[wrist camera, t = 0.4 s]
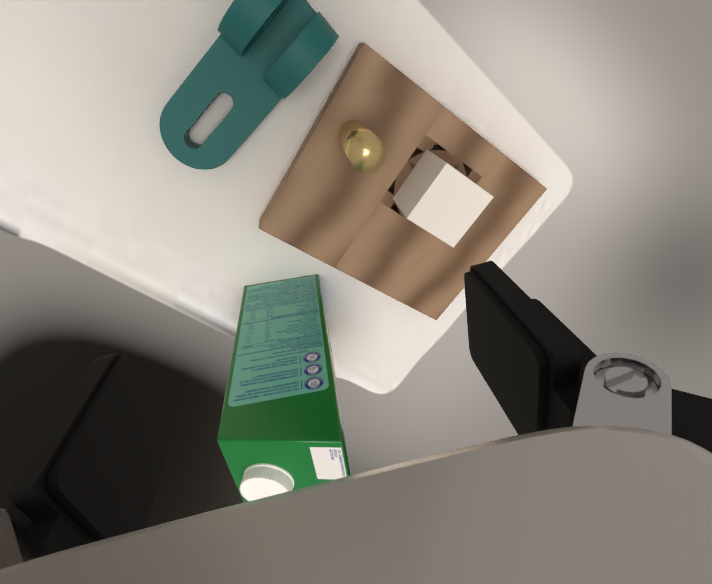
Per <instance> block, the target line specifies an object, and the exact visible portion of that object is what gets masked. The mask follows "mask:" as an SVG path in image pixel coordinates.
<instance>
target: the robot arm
mask: <svg viewBox="0 0 712 584" xmlns="http://www.w3.org/2000/svg"><path fill="white" fill-rule="evenodd" d="M464 283H465V297H466V310H467V323H468V337H469V349H470V353H471V356H472V359H473V361H474V363H475V364H476V366H477V368H478V369H479V371H480V373H481V374H482V376H483V378H484V379H485V381H486V382H487V384H488V386H489V387H490V389H491V390H492V392H493V394H494V396H495V397H496V399H497V400H498V402H499V404H500V405H501V407H502V409H503V410H504V412H505V414H506V415H507V417H508V418H509V420H510V422H511V423H512V425H513V426H514V428H515V430H516V431H517V433H518V435H517V436H512V437H508V438H503V439H499V440H495V441H490V442H486V443H482V444H477V445H473V446H469V447H464V448H460V449H456V450H452V451H447V452H443V453H439V454H435V455H431V456H427V457H423V458H419V459H415V460H412V461H407V462H403V463H399V464H395V465H391V466H387V467H383V468H380V469H376V470H371V471H367V472H363V473H359V474H355V475H351V476H347V477H343V478H339V479H335V480H331V481H327V482H323V483H319V484H315V485H311V486H308V487H304V488H300V489H296V490H292V491H288V492H284V493H280V494H276V495H272V496H268V497H264V498H261V499H257V500H253V501H249V502H245V503H241V504H237V505H233V506H230V507H226V508H222V509H218V510H214V511H210V512H206V513H202V514H199V515H195V516H191V517H187V518H183V519H180V520H176V521H172V522H168V523H164V524H160V525H156V526H153V527H149V528H145V525H146V521H147V518H148V515H149V512H150V509H151V506H152V502H153V500H154V496H155V493H156V490H157V487H158V484H159V481H160V478H161V474H162V471H163V468H164V465H165V462H166V459H167V456H168V452H169V449H170V446H171V443H172V439H173V436H174V427H173V424H172V422H171V420H170V419H169V417H168V416H167V414H166V412H165V411H164V409H163V408H162V406H161V405H160V403H159V401H158V400H157V398H156V397H155V395H154V394H153V392H152V390H151V389H150V387H149V385H148V384H147V382H146V381H145V379H144V378H143V376H142V375H141V373H140V371H139V370H138V368H137V366H136V365H135V363H134V362H133V360H132V359H131V358H130V357H125V356H124V355H122V354H120V353H116V354H113V355H108V356H105V357H100V358H97V359H95V360H94V361H93V362H92V364H91V366H90V367H89V369H88V370H87V371H86V373H85V374H84V376H83V377H82V379H81V380H80V382H79V383H78V385H77V386H76V388H75V389H74V391H73V392H72V394H71V395H70V397H69V398H68V400H67V401H66V403H65V404H64V406H63V407H62V409H61V410H60V412H59V413H58V415H57V416H56V418H55V419H54V421H53V422H52V424H51V425H50V427H49V428H48V430H47V431H46V433H45V434H44V436H43V437H42V438H41V440H40V441H39V443H38V444H37V446H36V448H35V449H34V451H33V452H32V453H31V455H30V456H29V458H28V459H27V461H26V462H25V464H24V465H23V467H22V469H21V470H20V471H19V473H18V474H17V476H16V477H15V479H14V480H13V482H12V483H11V485H10V486H9V488H8V489H7V491H6V492H5V494H4V496H6V497H7V498H8V499H9V500H10V501H11V502H12V503H11V504H10V506H9V508H8V509H7V511H6V510H5V509H0V584H712V399H710V398H706V397H702V396H698V395H694V394H690V393H686V392H682V391H678V390H674V389H672V386H671V382H670V379H669V377H668V375H667V374H666V373H665V372H664V371H663V369H661V368H660V367H658V366H657V365H656V364H654V363H653V362H650V361H649V360H646V359H644V358H642V357H638V356H634V355H631V354H624V353H608V354H603V355H599V356H596V355H595V354H594V353H593V352H592V351H591V350H590V349H589V348H588V347H587V346H586V345H585V344H584V343H583V342H582V341H581V340H580V339H579V338H578V337H576V335H574V334H573V333H572V332H571V331H570V330H569V329H568V328H567V327H566V326H565V325H564V324H563V323H562V322H561V321H560V320H559V319H558V318H557V317H556V316H555V315H554V314H552V313H551V312H550V311H549V310H548V309H547V308H546V307H545V306H544V305H543V304H542V303H541V302H540V301H538V300H537V299H530V297H529V296H527V295H526V294H525V292H524V291H522V290H521V289H520V288H519V287H518V286H517V285H516V284H515V283H514V282H513V281H512V280H511V279H510V278H509V277H508V276H507V275H506V274H505V273H504V272H503V271H502V270H501V269H500V268H499V267H498V266H497V265H496V264H495V263H494V262H493V261H488V262H484V263H480V264H476V265H472V266H471V267H470V272H466V273H465V274H464ZM144 528H145V529H144Z"/></svg>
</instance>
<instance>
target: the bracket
mask: <svg viewBox="0 0 712 584" xmlns="http://www.w3.org/2000/svg"><path fill="white" fill-rule="evenodd" d="M218 31H219V32H220V33H221V35H220V36H219V38H218V39H217V40H216V41H215V43H214V44H213V45H212V47H211V48H210V49H209V50H208V52H207V53H206V54H205V55H204V57H203V58H202V59H201V61H200V62H199V63H198V64H197V66H196V67H195V68H194V70H193V71H192V72H191V73H190V75H189V76H188V77H187V78H186V80H185V81H184V82H183V84H182V85H181V86H180V87H179V89H178V90H177V91H176V93H175V94H174V95H173V96H172V98H171V99H170V100H169V102H168V103H167V104H166V106H165V107H164V109H163V111H162V114H161V117H160V132H161V136H162V139H163V141H164V144H165V145H166V147H167V149H168V150H169V151H170V153H171V154H172V155H173V156H174V157H175V158H176V159H177V160H179V161H180V162H182V163H183V164H185V165H187V166H189V167H192V168H196V169H205V170H206V169H213V168H216V167H219V166H221V165H222V164H224V163H225V162H226V161H227V160H228V159H229V158H230V157H231V156H232V155H233V154H234V152H235V151H236V150H237V149H238V148H239V147H240V146H241V144H242V143H243V142H244V141H245V140H246V139H247V138H248V136H249V135H250V134H251V133H252V132H253V131H254V130H255V128H256V127H257V126H258V125H259V124H260V123H261V122H262V120H263V119H264V118H265V117H266V116H267V115H268V114H269V112H270V111H271V110H272V109H273V108H274V107H275V106H276V104H277V103H278V102H279V101H280V100H281V99H282V98H283V99H285V98H286V97H287V96H288V95H289V94H290V93H291V92H292V91H293V90H294V89H295V88H296V87H297V86H298V85H299V84H300V83H301V82H302V81H303V79H304V78H305V77H306V76H307V75H308V74H309V73H310V72H311V71H312V69H313V68H314V67H315V66H316V65H317V64H318V63H319V61H320V60H321V59H322V58H323V57H324V55H325V54H326V53H327V52H328V51H329V49H330V48H331V47H332V45H333V44H334V43H335V41H336V40H337V39H338V37H339V36H338V34H337V33H336V32H335V31H334V29H333V28H332V27H331V26H330V25H329V23H328V22H327V21H326V20H325V18H324V17H323V16H322V15H321V13H320V12H318V13H316V12H315V11H314V10H313V8H312V7H311V6H310V5H309V3H308V2H307V1H306V0H234V2H233V3H232V5H231V6H230V8H229V9H228V11H227V12H226V14H225V16H224V17H223V19H222V21H221V23H220V25H219V27H218ZM221 92H224V93H227V94H229V95H230V96H231V97H232V99H233V102H234V106H233V109H232V110H231V111H230V113H229V114H228V115H227V116H226V117H225V119H224V120H223V121H222V122H221V123H220V125H219V126H218V127H217V128H216V129H215V130H214V132H213V133H212V134H211V135H210V136H209V138H208V139H207V140H206V141H205V142H204V143H203V144H201V145H197V144H194V143H193V142H192V141H191V140H190V138H189V135H188V133H189V130H190V129H191V128H192V126H193V125H194V124H195V123H196V121H197V120H198V119H199V118H200V117H201V115H202V114H203V113H204V112H205V110H206V109H207V108H208V107H209V106H210V104H211V103H212V102H213V101H214V99H215V98H216V97H217V96H218V95H219V93H221Z"/></svg>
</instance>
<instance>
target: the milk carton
mask: <svg viewBox="0 0 712 584" xmlns="http://www.w3.org/2000/svg"><path fill="white" fill-rule="evenodd" d="M217 441H218V444H219V446H220V448H221V451H222V453H223V455H224V457H225V460H226V462H227V464H228V467H229V469H230V471H231V474H232V476H233V478H234V481H235V483H236V485H237V487H238V490H239V492H240V495H241V497H242V499H243V501H244V503H245V502H249V501H253V500H257V499H261V498H264V497H268V496H272V495H276V494H280V493H284V492H288V491H292V490H296V489H300V488H304V487H308V486H311V485H315V484H319V483H323V482H327V481H331V480H335V479H339V478H343V477H347V476H351V475H350V469H349V463H348V456H347V449H346V442H345V436H344V429H343V423H342V416H341V410H340V403H339V397H338V390H337V383H336V376H335V370H334V363H333V357H332V350H331V343H330V337H329V331H328V325H327V319H326V314H325V308H324V302H323V296H322V291H321V285H320V279H319V275H313V276H307V277H301V278H295V279H289V280H283V281H277V282H270V283H264V284H258V285H252V286H246V287H244V292H243V298H242V304H241V309H240V315H239V320H238V326H237V332H236V337H235V343H234V349H233V354H232V360H231V365H230V371H229V377H228V382H227V388H226V394H225V399H224V405H223V411H222V416H221V422H220V427H219V433H218V439H217Z"/></svg>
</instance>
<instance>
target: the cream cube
mask: <svg viewBox="0 0 712 584" xmlns="http://www.w3.org/2000/svg"><path fill="white" fill-rule="evenodd" d="M492 199H493V196H492V195H490V194H489V193H488V192H486V191H485V190H483V189H482V188H481V187H479V186H478V185H477V184H475V183H474V182H472V181H471V180H470V179H468V178H467V177H466V176H464V175H463V174H461V173H460V172H459V171H457V170H456V169H455V168H453V167H452V166H450V165H449V164H448V163H446V162H445V161H443V160H442V159H441V158H439V157H438V156H436V155H435V154H433V153H432V152H430V151H429V150H428V149H427V150H426V151H425V153H424V154H423V155H422V157H421V158H420V160H419V161H418V163H417V164H416V166H415V167H414V168H413V170H412V171H411V173H410V174H409V176H408V177H407V179H406V180H405V181H404V183H403V184H402V186H401V187H400V189H399V190H398V192H397V193H396V195H395V196H394V197H393V200H394V201H395V203H396V204H397V206H398V207H399V208H400V210H401V211H402V213H403V214H404V215H405V217H406V218H407V219H408V220H410V221H412V222H413V223H415V224H416V225H418V226H420V227H421V228H423V229H424V230H426V231H428V232H429V233H431V234H432V235H434V236H436V237H437V238H439V239H440V240H442V241H444V242H445V243H447V244H448V245H450V246H452V247H453V248H454V247H455V245H456V244H457V243H458V241H459V240H460V239H461V238H462V236H463V235H464V234H465V233H466V231H467V230H468V229H469V228H470V226H471V225H472V224H473V223H474V221H475V220H476V219H477V218H478V216H479V215H480V214H481V213H482V211H483V210H484V209H485V207H486V206H487V205H488V204H489V202H490V201H491V200H492Z"/></svg>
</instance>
